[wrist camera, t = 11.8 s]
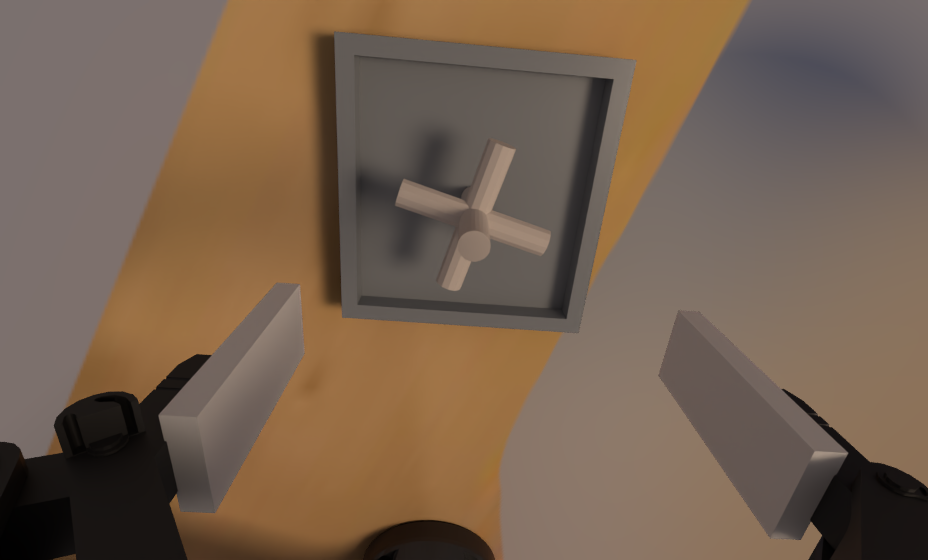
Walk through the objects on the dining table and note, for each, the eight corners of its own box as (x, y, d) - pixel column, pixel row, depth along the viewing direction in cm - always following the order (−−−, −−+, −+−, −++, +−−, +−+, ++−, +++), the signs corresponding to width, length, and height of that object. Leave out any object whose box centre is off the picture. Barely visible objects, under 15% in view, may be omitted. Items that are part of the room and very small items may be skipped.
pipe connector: (430, 106, 31) (414, 123, 22) (562, 157, 33) (598, 192, 24) (390, 235, 35) (362, 294, 26) (509, 276, 37) (522, 345, 28)
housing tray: (571, 318, 39) (578, 333, 37) (349, 303, 38) (342, 317, 36) (623, 61, 31) (636, 60, 29) (343, 35, 30) (334, 31, 28)
